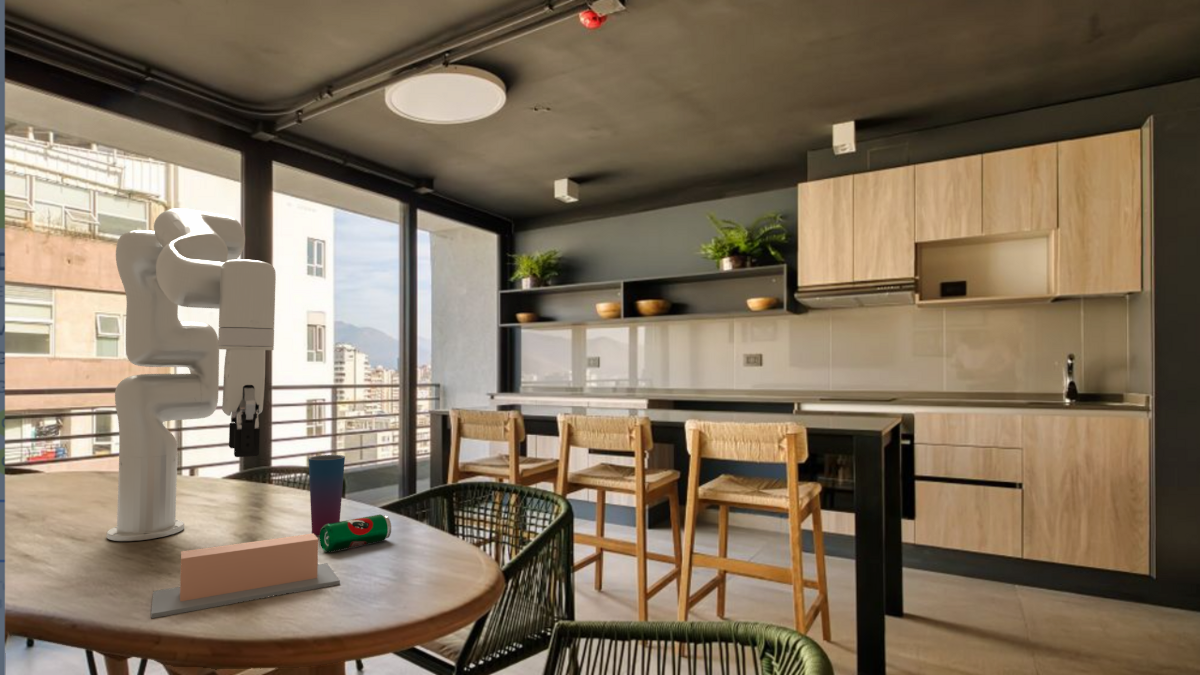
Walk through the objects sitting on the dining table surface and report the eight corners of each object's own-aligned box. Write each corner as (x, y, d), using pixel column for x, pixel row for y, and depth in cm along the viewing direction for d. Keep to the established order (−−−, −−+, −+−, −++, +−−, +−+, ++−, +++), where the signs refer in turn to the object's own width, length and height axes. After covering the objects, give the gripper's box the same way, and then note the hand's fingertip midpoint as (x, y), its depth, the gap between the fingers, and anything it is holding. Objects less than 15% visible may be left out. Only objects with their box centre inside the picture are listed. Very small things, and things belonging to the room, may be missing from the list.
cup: (333, 525, 134) (334, 453, 134) (350, 531, 129) (351, 457, 130) (300, 532, 128) (302, 457, 129) (317, 538, 124) (318, 461, 125)
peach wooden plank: (179, 592, 94) (181, 551, 94) (312, 570, 104) (313, 533, 104) (180, 601, 90) (181, 558, 91) (317, 577, 100) (318, 539, 101)
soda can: (331, 553, 113) (393, 540, 122) (329, 524, 114) (391, 513, 123) (318, 553, 116) (380, 540, 125) (317, 524, 117) (378, 513, 126)
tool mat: (153, 595, 94) (153, 591, 94) (326, 566, 108) (327, 563, 108) (151, 618, 86) (151, 613, 86) (339, 584, 99) (339, 580, 99)
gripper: (215, 340, 104) (211, 446, 104) (222, 339, 90) (218, 462, 89) (266, 341, 108) (263, 443, 108) (281, 340, 94) (278, 458, 93)
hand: (243, 451), depth 98 cm, fingers open, 9 cm apart
